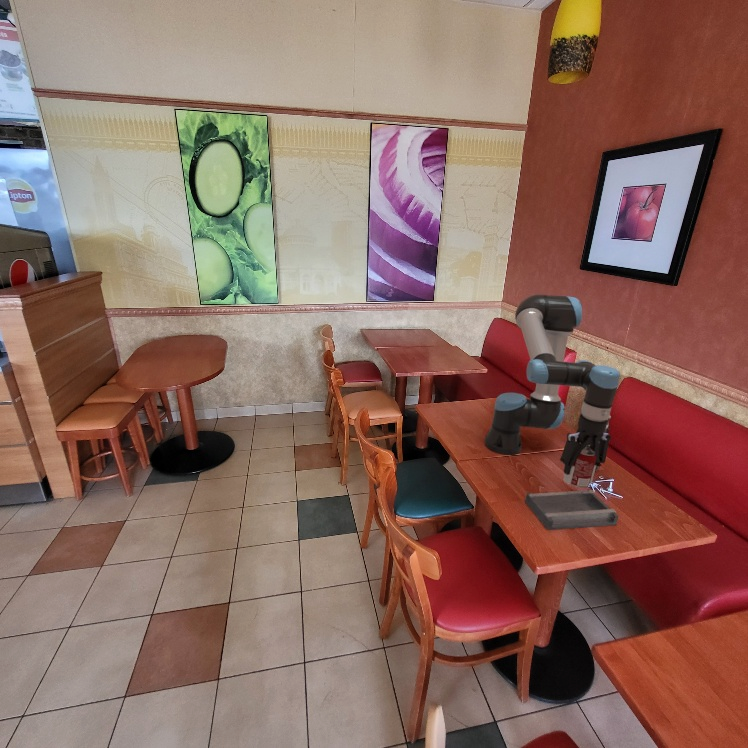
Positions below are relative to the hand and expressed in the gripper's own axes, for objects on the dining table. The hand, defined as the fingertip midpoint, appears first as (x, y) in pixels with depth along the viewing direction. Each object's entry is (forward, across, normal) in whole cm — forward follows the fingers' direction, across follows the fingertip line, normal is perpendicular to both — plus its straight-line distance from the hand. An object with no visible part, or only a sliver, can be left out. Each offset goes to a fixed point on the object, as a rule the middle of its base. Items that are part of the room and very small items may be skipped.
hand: (577, 481), depth 129 cm
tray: (+12, 0, 0) cm, 12 cm away
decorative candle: (+12, +24, +25) cm, 37 cm away
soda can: (+1, 0, 0) cm, 1 cm away
